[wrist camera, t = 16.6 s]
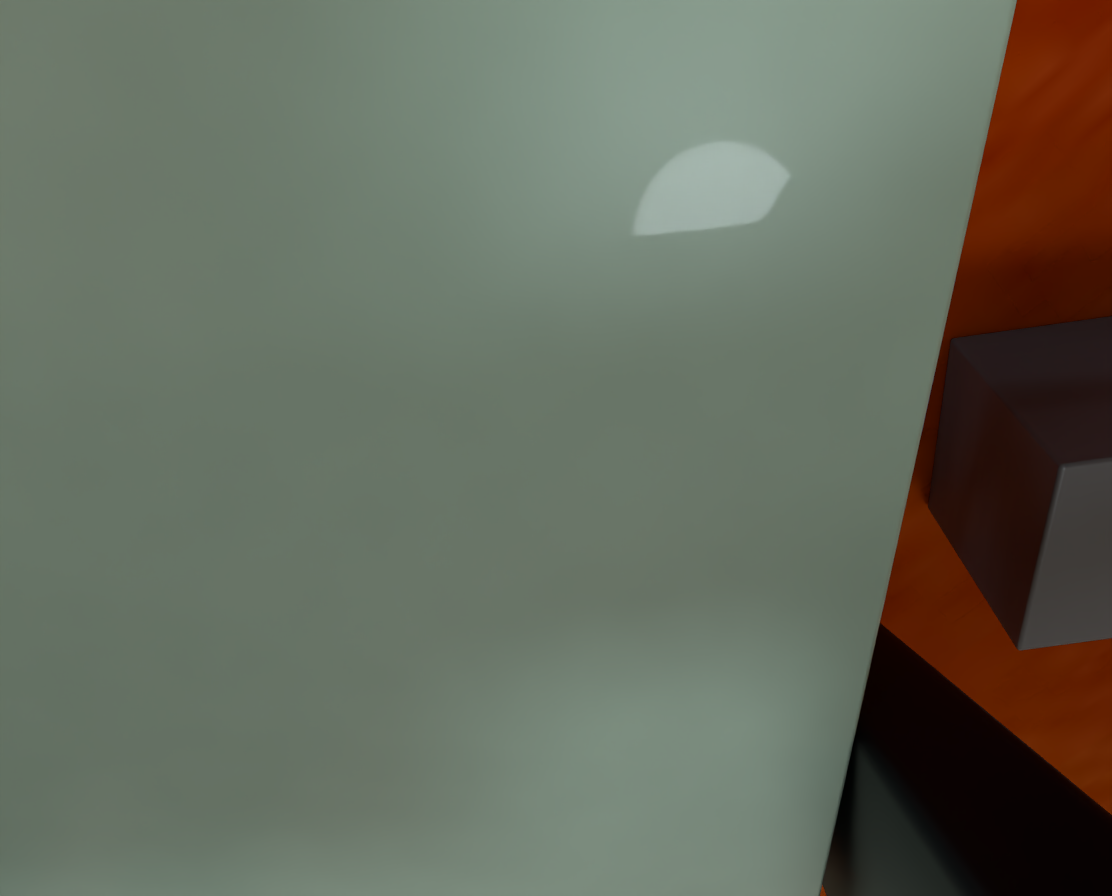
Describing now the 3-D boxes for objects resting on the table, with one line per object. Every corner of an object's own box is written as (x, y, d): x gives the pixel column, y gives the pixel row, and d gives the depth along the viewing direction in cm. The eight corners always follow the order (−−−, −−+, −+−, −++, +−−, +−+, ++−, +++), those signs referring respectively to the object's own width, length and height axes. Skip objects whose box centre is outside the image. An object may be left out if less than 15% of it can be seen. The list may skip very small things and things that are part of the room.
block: (1120, 481, 24) (1251, 621, 20) (926, 507, 24) (1017, 652, 20) (1169, 306, 21) (1334, 428, 17) (949, 336, 21) (1060, 466, 17)
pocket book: (703, 913, 13) (756, 1191, 11) (214, 950, 13) (143, 1242, 10) (831, -456, 5) (1179, -712, 3) (-431, -406, 5) (-1433, -617, 2)
